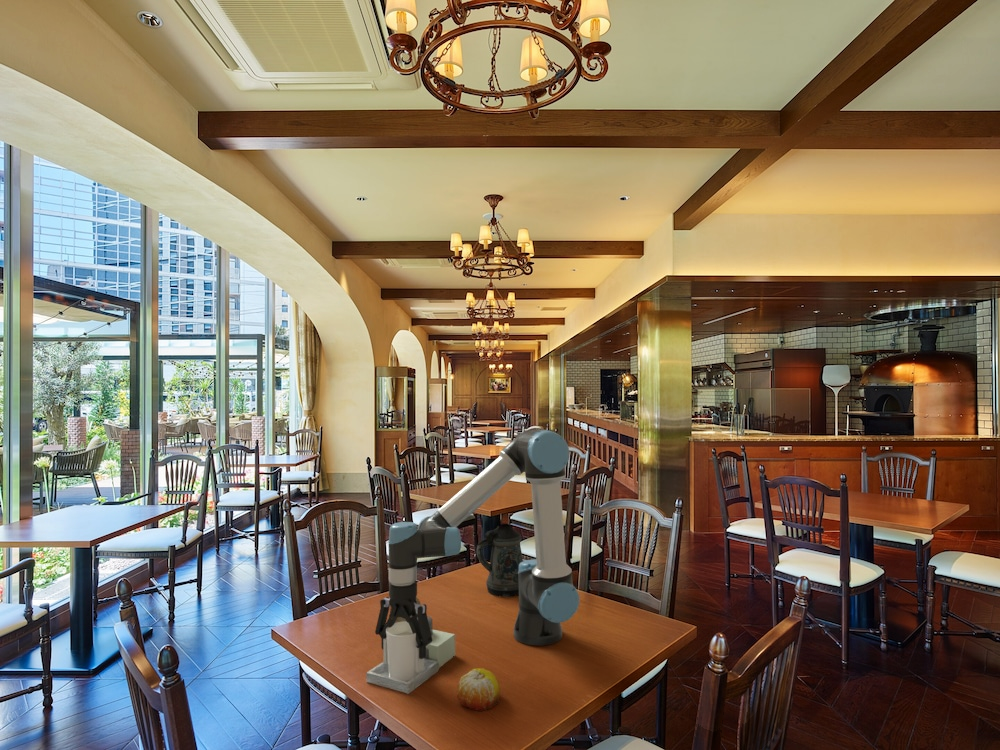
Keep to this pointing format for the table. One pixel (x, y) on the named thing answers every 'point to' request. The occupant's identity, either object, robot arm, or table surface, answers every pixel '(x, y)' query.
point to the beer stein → (502, 560)
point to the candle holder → (401, 651)
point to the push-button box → (440, 645)
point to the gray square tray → (381, 678)
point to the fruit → (478, 689)
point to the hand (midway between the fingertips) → (403, 665)
